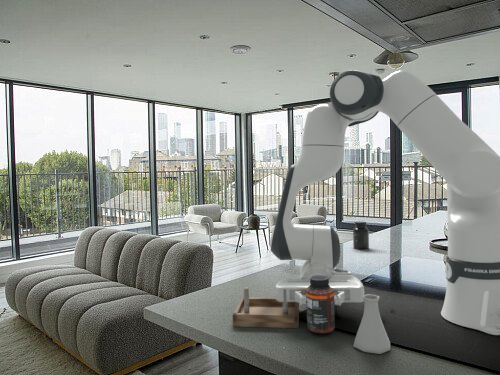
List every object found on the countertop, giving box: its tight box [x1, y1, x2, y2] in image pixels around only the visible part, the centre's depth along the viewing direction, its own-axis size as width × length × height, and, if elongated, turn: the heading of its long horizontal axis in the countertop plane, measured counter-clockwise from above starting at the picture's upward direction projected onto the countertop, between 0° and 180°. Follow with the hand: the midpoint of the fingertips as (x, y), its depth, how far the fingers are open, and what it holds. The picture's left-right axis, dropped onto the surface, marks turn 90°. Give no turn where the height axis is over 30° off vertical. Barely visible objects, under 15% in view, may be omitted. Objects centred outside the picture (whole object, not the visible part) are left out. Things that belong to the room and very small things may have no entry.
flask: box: [352, 293, 391, 355], centre depth 76 cm, size 7×7×10 cm
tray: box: [232, 287, 300, 329], centre depth 93 cm, size 15×12×8 cm
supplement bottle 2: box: [352, 221, 370, 251], centre depth 173 cm, size 7×7×12 cm
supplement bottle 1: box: [306, 275, 336, 334], centre depth 83 cm, size 6×6×11 cm
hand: (320, 302), depth 82 cm, fingers closed on supplement bottle 1, 6 cm apart
